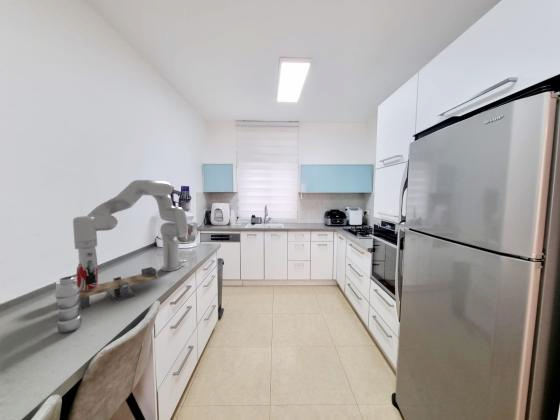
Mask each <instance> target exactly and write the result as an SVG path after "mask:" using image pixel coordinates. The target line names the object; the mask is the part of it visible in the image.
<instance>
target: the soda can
mask: <svg viewBox="0 0 560 420" xmlns="http://www.w3.org/2000/svg"><path fill="white" fill-rule="evenodd" d="M87 269H88V268H87ZM94 270H95V275H96V283H93V284H89V285H87V284H86V276H87V275H86V271H84V270H83V268H82V266H81V265H80V263H79V262H78V264H77V267H76V277H77V286H78V287H79V289H80V291H89V290H92V289H94V288H95V287H97V285H98V284H99V280H98V279H99V278H98V274H99V273H98V268H94Z"/></svg>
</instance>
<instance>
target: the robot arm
mask: <svg viewBox="0 0 560 420" xmlns="http://www.w3.org/2000/svg"><path fill="white" fill-rule="evenodd" d="M172 193H173V186H172V185H171V183H169V182H168V181H162V180H160V181H158V180H150V179H136V180H133V181H131V182H130V183H129V184H128V185H127V186H125V188H124V189H123V190H122V191H120V192H119V193H118V194H117V195H116V196H114V197H112V198H110V199H108V200H107V201H104V202H102V203H101V204H99V205H98V206H96V207H95V208H93V210H91V211H90V212H89V213H88V214H87V215H85V216H77V217H74V218H73V220H72V226H73V240H74V241H73V242H74V249H75V250H77V252H78V264H79V263H80V265H81V266H82V268H83V270H84V271H86V275H87V276H86V284H87V285H89V284H93V283H96V275H95V270H94V268H97V269H98V267H99V265H98V257H97V250H96V248H97V246H98V237H97V236H98V235H97V234H98V233H97V232H99V231H100V232H103V231H112V230H113V229H115V228H116V227H117V226H118V223H119V222H118V219H117V218H116V216H114V215H113V214H116V213H118V212H123V211H126V210H128V209H130V208H132V207H133V206H134V205H135V204H136V203H137V202H138V201H139V200H140V199H141V198H142V197H143V196H151V197H153V198H154V199H155V201H156V203H157V207H158V213H159V216H160V219H161V220H162V221H166V222H163V223H162V225H160V234H161V238H162V256H163V257H162V258H163V259H162V263H163V264H162V266H161V267H160V270H161V271H162V270H163V272H172V271H177V270H180V269H181V268H182V266H183V265H182V264H184V263H186V262H187V260H186V259H180V255H179V254H180V250H179V247H180V246H179V245H180V243H179V239H178V238H182V237H186V236H187V234H188V231H189V226H188V221H187V219H188V218H187V214H186V211H185V210H184V209H183V208H182V207H180V206H174V204H173V200H172V197H171V195H172ZM87 268H88V269H87ZM179 268H180V269H179Z"/></svg>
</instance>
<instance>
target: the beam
mask: <svg viewBox="0 0 560 420" xmlns="http://www.w3.org/2000/svg"><path fill="white" fill-rule="evenodd" d="M158 278H159V275H158V274H157V269H156V268H154V267H152V266H149V267H146V268H141V273H140V274H136V275H132V276H127V277H124V278H123V277H122V278H121V279H119V280H115V281H113V280H112V281H107V282H101V283H98V285H97V287H95V288H94V289H92V290H89V291H80V293H79V299H80V298H84V297H87V296H89V297H90V296H94V295H98V294H102V293H105V292H107V291H110V290H114V289H117V288H120V284H121V283H125V282H128V287H129V286H133V285H136V284H139V283H143V282H149V281H151V280H154V279H158Z"/></svg>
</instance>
